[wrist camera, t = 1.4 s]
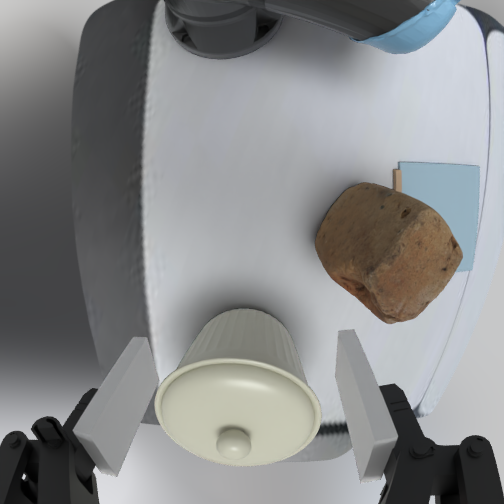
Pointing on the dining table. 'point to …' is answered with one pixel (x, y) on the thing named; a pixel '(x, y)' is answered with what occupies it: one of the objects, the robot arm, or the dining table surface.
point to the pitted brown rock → (387, 250)
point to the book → (446, 198)
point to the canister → (240, 393)
